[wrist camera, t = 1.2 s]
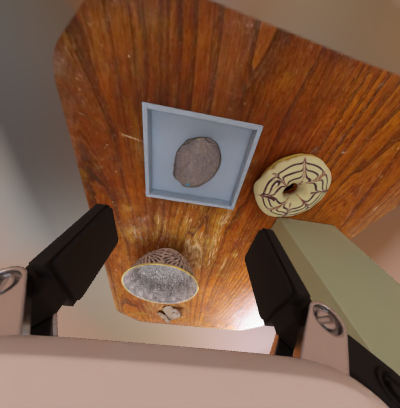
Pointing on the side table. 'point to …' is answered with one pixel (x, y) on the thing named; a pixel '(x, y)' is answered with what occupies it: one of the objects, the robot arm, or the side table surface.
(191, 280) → the bowl
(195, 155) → the stone
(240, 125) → the tray
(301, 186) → the decorated donut
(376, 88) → the side table surface
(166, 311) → the butterfly
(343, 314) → the stand
